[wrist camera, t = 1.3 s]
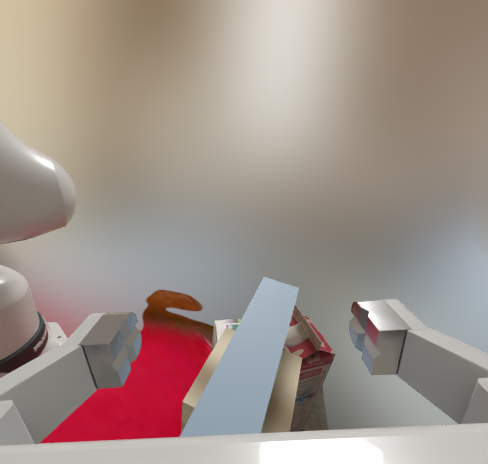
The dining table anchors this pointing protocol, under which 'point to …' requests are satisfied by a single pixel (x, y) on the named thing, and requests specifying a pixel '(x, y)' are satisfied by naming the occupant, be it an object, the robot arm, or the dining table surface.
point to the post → (281, 394)
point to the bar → (246, 367)
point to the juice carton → (307, 364)
